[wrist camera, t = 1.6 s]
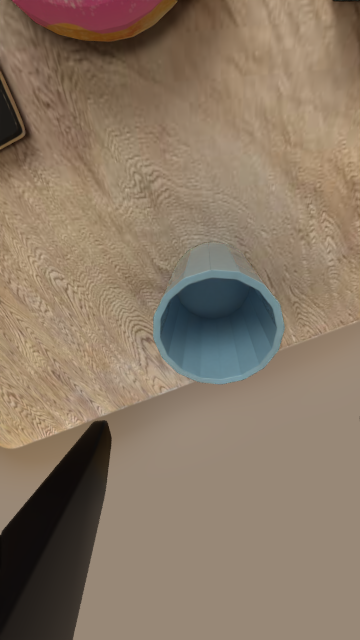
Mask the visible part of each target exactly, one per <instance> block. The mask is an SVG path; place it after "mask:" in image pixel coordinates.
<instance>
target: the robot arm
mask: <svg viewBox="0 0 360 640" xmlns="http://www.w3.org/2000/svg"><path fill="white" fill-rule="evenodd" d="M110 450H111V434H110V430H109V426H108V423H107V421H105V420H102V421H95V422H93V423H92V424H91V425H90V427H89V428H88V429H87V430H86V432H85V433H84V434H83V435H82V436H81V438H80V439H79V440H78V441H77V442H76V444H75V445H74V446H73V447H72V448H71V449H70V451H69V452H68V453H67V454H66V455H65V457H64V458H63V459H62V460H61V461H60V463H59V464H58V465H57V466H56V467H55V469H54V470H53V471H52V472H51V473H50V474H49V476H48V477H47V478H46V479H45V480H44V482H43V483H42V484H41V485H40V487H39V488H38V489H37V490H36V491H35V493H34V494H33V495H32V496H31V497H30V498H29V500H28V501H27V502H26V503H25V504H24V506H23V507H22V508H21V509H20V510H19V512H18V513H17V514H16V515H15V516H14V518H13V519H12V520H11V521H10V522H9V524H8V525H7V526H6V527H5V528H4V530H3V531H2V533H1V535H0V640H73V636H74V631H75V627H76V622H77V618H78V613H79V609H80V604H81V600H82V595H83V591H84V586H85V582H86V577H87V573H88V568H89V564H90V559H91V555H92V551H93V546H94V542H95V537H96V533H97V528H98V524H99V519H100V515H101V510H102V506H103V501H104V496H105V491H106V483H107V475H108V467H109V459H110Z"/></svg>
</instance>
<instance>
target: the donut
mask: <svg viewBox="0 0 360 640" xmlns="http://www.w3.org/2000/svg"><path fill="white" fill-rule="evenodd" d="M12 1H13V2H14V3H15V4H16V5H17V6H18V7H19V8H20V9H21V10H22V11H23V12H25V13H26V14H27V15H28V16H29V17H30V18H31V19H32V20H33V21H34V22H36V23H37V24H39V25H41V26H43V27H45V28H47V29H49V30H51V31H53V32H55V33H56V34H59V35H63V36H67V37H71V38H76V39H80V40H87V41H108V42H112V41H116V40H121V39H126V38H130V37H134V36H135V35H137V34H139V33H141V32H143V31H144V30H146V29H148V28H150V27H151V26H153V25H154V24H155V23H157V22H158V21H159V20H160V19H161V18H162V17H163V16H164V15H165V14H166V13H167V12H168V11H169V10H170V9H171V8H172V7H173V6H174V5H175V4H176V2H177V1H178V0H12Z"/></svg>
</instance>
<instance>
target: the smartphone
mask: <svg viewBox="0 0 360 640" xmlns="http://www.w3.org/2000/svg"><path fill="white" fill-rule="evenodd" d="M24 135H25V128H24V125H23V122H22V119H21V117H20V114H19V112H18V109H17V107H16V104H15V102H14V100H13V98H12V95H11V93H10V91H9V88H8V86H7V84H6V82H5V80H4V77H3V75H2V73H1V71H0V149H2V148H4V147H6V146H8V145H10V144H11V143H13V142H15V141H17V140H19V139H20V138H22V137H23V136H24Z"/></svg>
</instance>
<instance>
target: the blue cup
mask: <svg viewBox="0 0 360 640" xmlns="http://www.w3.org/2000/svg"><path fill="white" fill-rule="evenodd" d="M284 329H285V326H284V321H283V316H282V311H281V306H280V303H279V302H278V301H277V299H276V298H275V297H274V295H273V294H272V292H271V291H270V290H269V288H268V287H267V286H266V284H265V283H264V281H263V280H262V279H261V277H260V276H259V274H258V273H257V272H256V270H255V269H254V268H253V266H252V265H251V264H250V262H249V261H248V260H247V258H246V257H245V256H244V255H243V253H242V252H241V251H239V250H238V249H236V248H234V247H233V246H230V245H228V244H225V243H220V242H209V243H203V244H200V245H197V246H195V247H193V248H192V249H190V250H189V251H187V252H186V253H185V254H184V255H183V256H182V257H181V258H180V259H179V261H178V263H177V265H176V267H175V269H174V271H173V273H172V276H171V278H170V280H169V282H168V285H167V287H166V289H165V291H164V294H163V296H162V298H161V301H160V303H159V305H158V307H157V310H156V312H155V314H154V317H153V338H154V341H155V343H156V345H157V348H158V350H159V352H160V354H161V356H162V358H163V359H164V360H165V361H166V362H167V363H168V364H169V365H170V366H171V367H172V368H173V369H174V370H175V371H176V372H177V373H179V374H181V375H183V376H186V377H188V378H190V379H192V380H195V381H197V382H202V383H212V384H226V383H231V382H235V381H240V380H244V379H246V378H248V377H250V376H251V375H253V374H255V373H256V372H258V371H260V370H261V369H263V368H264V367H265V366H266V365H267V364H268V363H269V361H270V360H271V359H272V358H273V357H274V355H275V354H276V353H277V352H278V350H279V347H280V344H281V340H282V336H283V333H284Z"/></svg>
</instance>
